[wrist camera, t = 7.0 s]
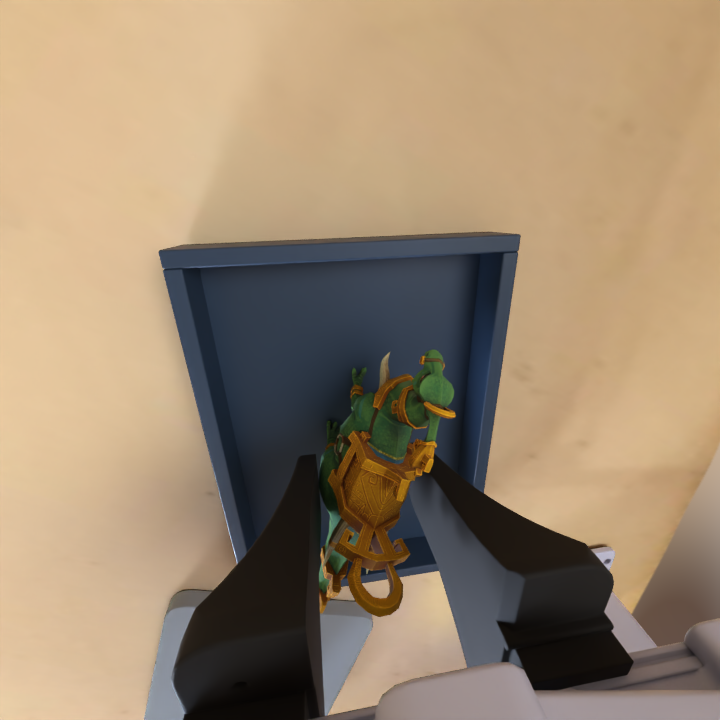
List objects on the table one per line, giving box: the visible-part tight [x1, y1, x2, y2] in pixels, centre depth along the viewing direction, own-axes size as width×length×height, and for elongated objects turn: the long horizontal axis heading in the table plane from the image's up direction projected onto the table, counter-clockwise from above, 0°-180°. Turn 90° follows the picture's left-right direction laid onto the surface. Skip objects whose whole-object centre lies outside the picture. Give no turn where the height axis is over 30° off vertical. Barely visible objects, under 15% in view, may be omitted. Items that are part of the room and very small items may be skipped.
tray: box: [159, 232, 521, 587], centre depth 16 cm, size 17×12×2 cm
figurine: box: [319, 350, 456, 617], centre depth 13 cm, size 3×12×8 cm, turn 157°
